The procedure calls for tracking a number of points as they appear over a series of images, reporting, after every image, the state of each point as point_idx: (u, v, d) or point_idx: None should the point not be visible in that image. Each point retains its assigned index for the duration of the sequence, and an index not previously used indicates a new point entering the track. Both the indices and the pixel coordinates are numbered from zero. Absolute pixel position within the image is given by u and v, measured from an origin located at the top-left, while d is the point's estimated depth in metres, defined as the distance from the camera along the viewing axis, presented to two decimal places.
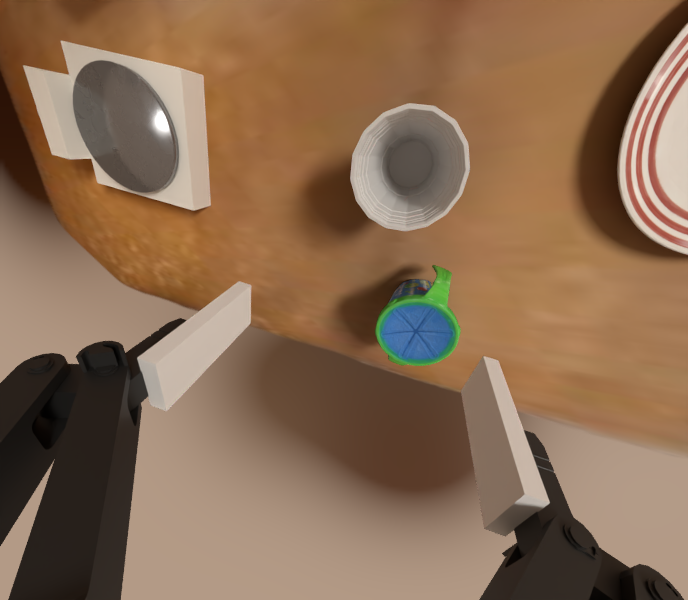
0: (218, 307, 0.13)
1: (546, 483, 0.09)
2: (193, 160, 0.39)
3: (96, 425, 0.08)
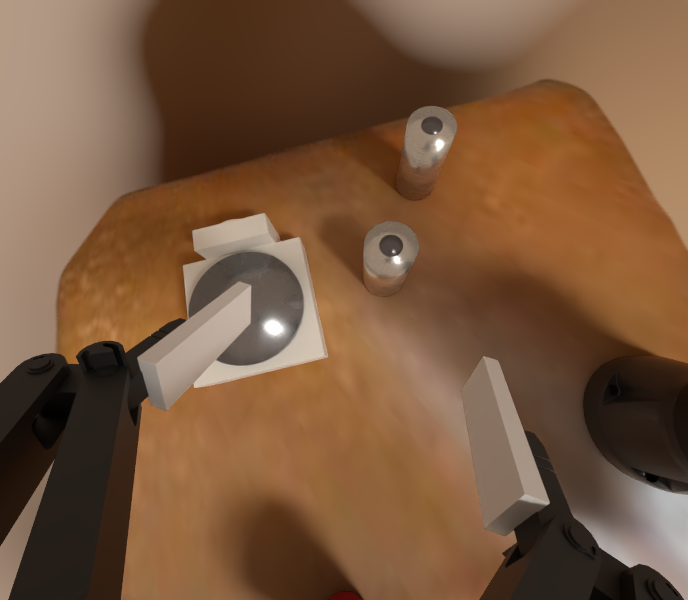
0: (218, 307, 0.13)
1: (546, 483, 0.09)
2: (249, 374, 0.35)
3: (96, 425, 0.08)
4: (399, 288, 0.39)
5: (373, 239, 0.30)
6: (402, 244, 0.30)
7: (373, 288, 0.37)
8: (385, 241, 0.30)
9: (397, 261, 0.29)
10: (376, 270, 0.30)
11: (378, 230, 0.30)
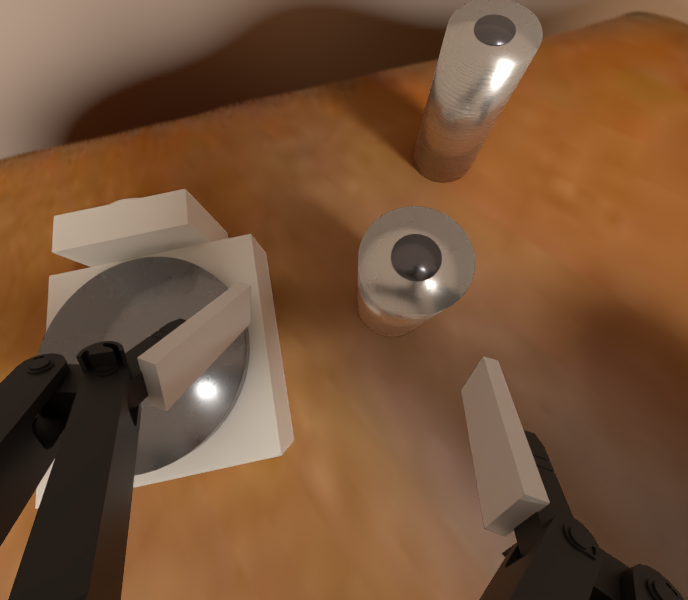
0: (218, 307, 0.13)
1: (547, 483, 0.09)
2: None
3: (96, 425, 0.08)
4: None
5: (379, 243, 0.14)
6: (440, 254, 0.14)
7: (374, 326, 0.22)
8: (404, 248, 0.14)
9: (429, 292, 0.14)
10: (384, 308, 0.15)
11: (389, 223, 0.15)
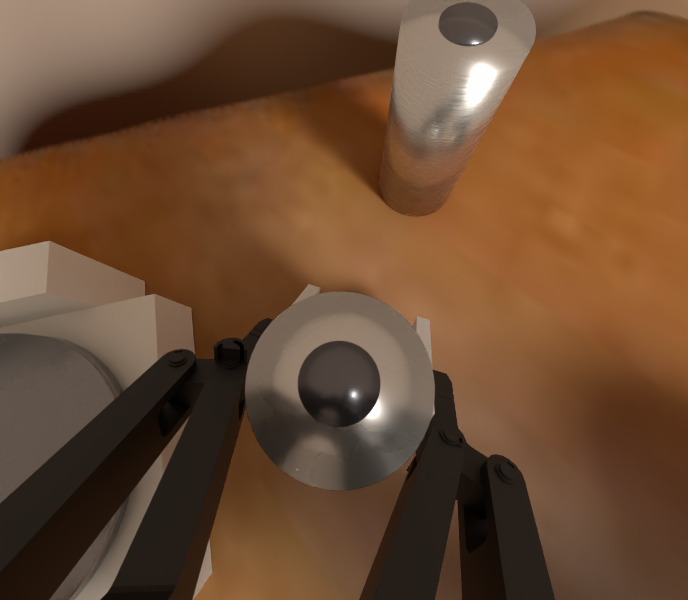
0: None
1: (444, 406, 0.11)
2: None
3: (214, 414, 0.09)
4: None
5: (282, 355, 0.09)
6: (379, 376, 0.09)
7: None
8: (320, 366, 0.09)
9: (358, 446, 0.08)
10: None
11: (299, 321, 0.09)
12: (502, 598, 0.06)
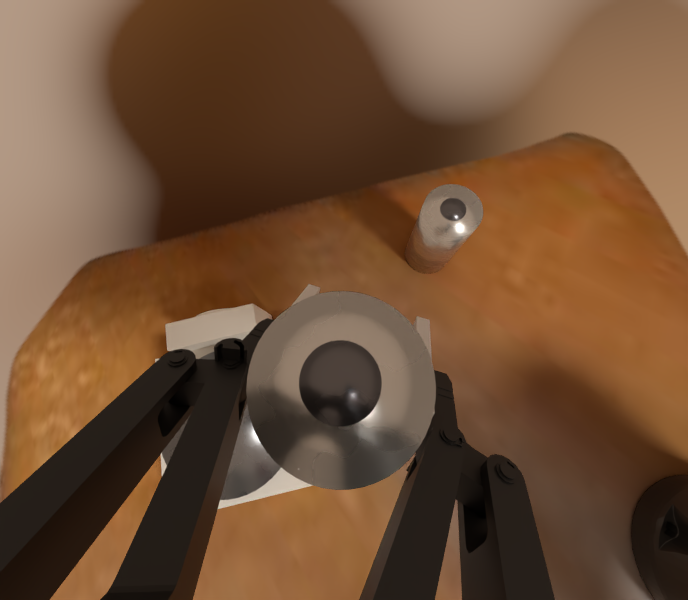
0: None
1: (443, 406, 0.11)
2: None
3: (214, 414, 0.09)
4: None
5: (283, 355, 0.09)
6: (380, 376, 0.09)
7: None
8: (321, 365, 0.09)
9: (360, 446, 0.08)
10: None
11: (300, 320, 0.09)
12: (502, 598, 0.06)
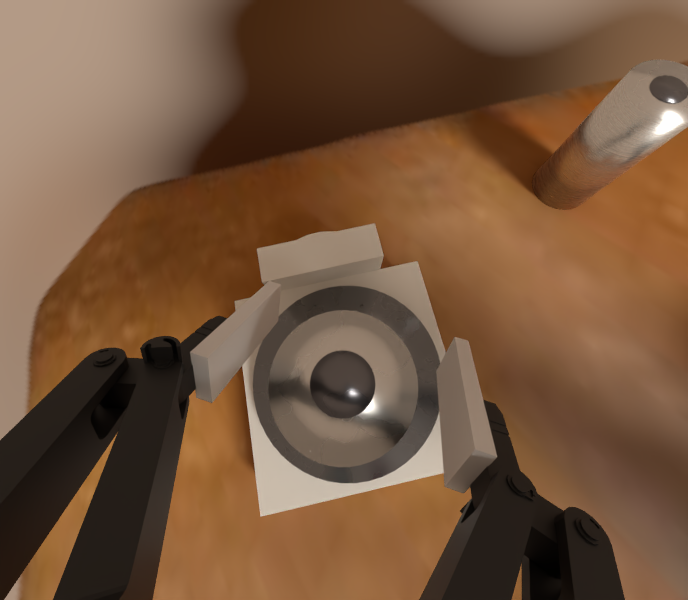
0: (254, 305, 0.14)
1: (500, 444, 0.10)
2: None
3: (150, 416, 0.08)
4: None
5: (296, 362, 0.11)
6: (374, 379, 0.11)
7: None
8: (327, 370, 0.11)
9: (358, 433, 0.10)
10: None
11: (310, 334, 0.11)
12: None
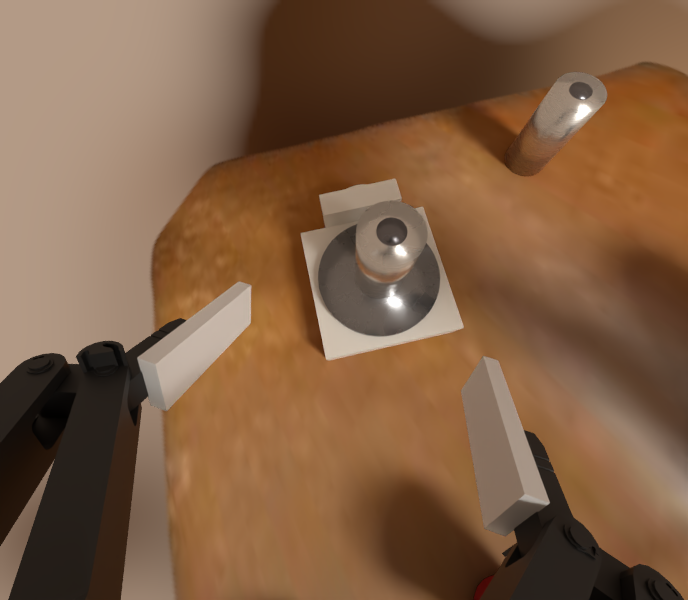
0: (218, 307, 0.13)
1: (546, 483, 0.09)
2: (381, 347, 0.33)
3: (96, 425, 0.08)
4: (398, 288, 0.32)
5: (369, 223, 0.23)
6: (406, 229, 0.23)
7: (367, 288, 0.30)
8: (384, 226, 0.23)
9: (400, 252, 0.23)
10: (372, 264, 0.23)
11: (375, 211, 0.24)
12: None
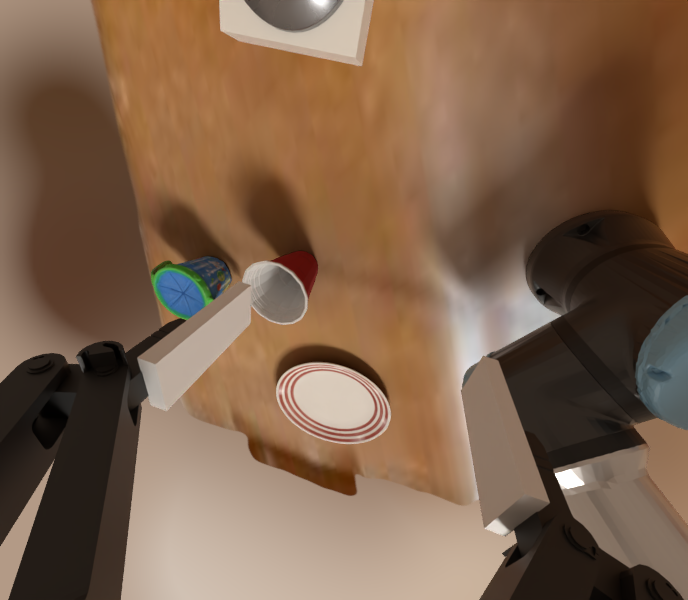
0: (218, 307, 0.13)
1: (546, 483, 0.09)
2: (276, 43, 0.33)
3: (96, 425, 0.08)
4: None
5: None
6: None
7: None
8: None
9: None
10: None
11: None
12: None
